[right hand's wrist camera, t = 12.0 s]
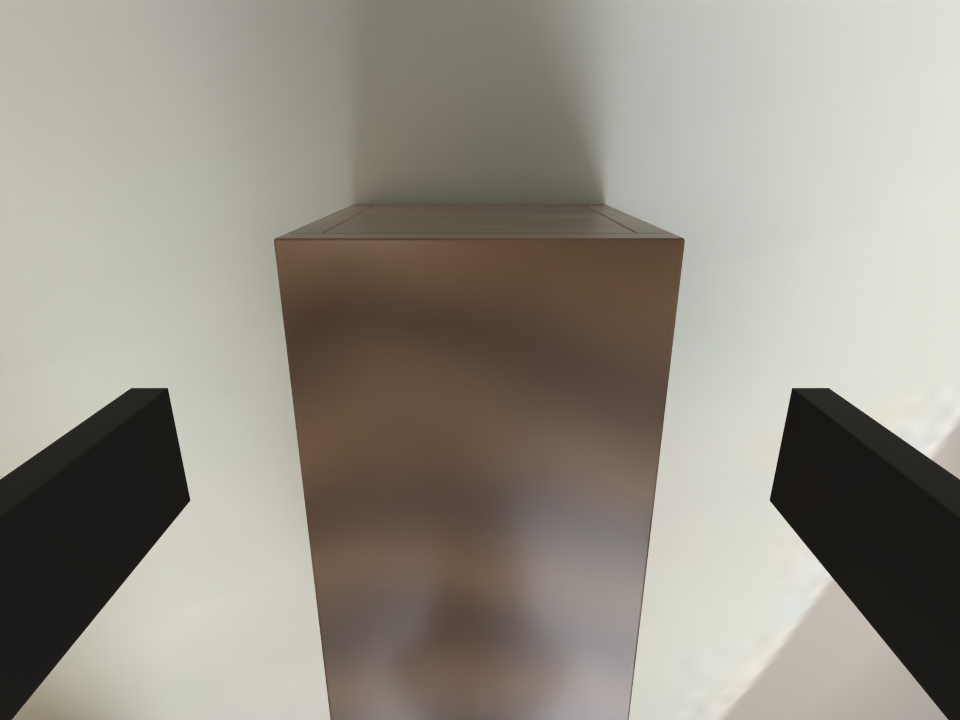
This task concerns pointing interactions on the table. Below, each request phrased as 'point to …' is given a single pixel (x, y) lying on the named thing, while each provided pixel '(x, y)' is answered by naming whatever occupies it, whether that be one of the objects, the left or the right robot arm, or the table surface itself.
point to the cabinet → (479, 451)
